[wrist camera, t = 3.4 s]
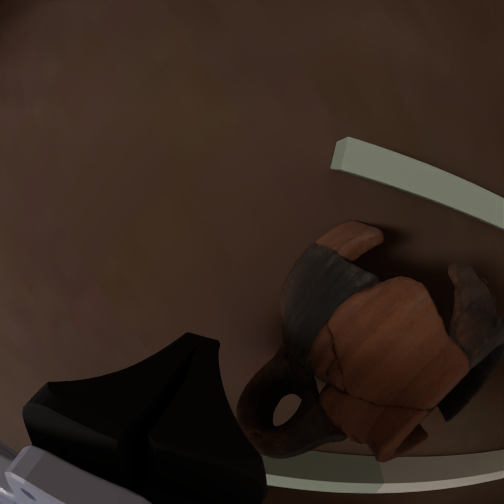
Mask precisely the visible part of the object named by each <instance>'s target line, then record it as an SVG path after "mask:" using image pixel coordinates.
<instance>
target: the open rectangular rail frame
mask: <svg viewBox="0 0 504 504" xmlns="http://www.w3.org/2000/svg"><path fill="white" fill-rule="evenodd" d="M330 169H333V170H337V171H340V172H344V173H347V174H350V175H354V176H357V177H360V178H364V179H367V180H370V181H373V182H376V183H379V184H383V185H386V186H389V187H392V188H395V189H398V190H401V191H404V192H406V193H409V194H412V195H415V196H418V197H421V198H423V199H426V200H429V201H432V202H434V203H437V204H440V205H442V206H445V207H448V208H450V209H453V210H455V211H458V212H460V213H463V214H465V215H468V216H470V217H473V218H475V219H478V220H480V221H482V222H485V223H487V224H489V225H492V226H494V227H496V228H499V229H501V230H503V231H504V198H502V197H500V196H498V195H496V194H494V193H492V192H490V191H488V190H486V189H484V188H481V187H479V186H477V185H475V184H473V183H471V182H468V181H466V180H464V179H462V178H459V177H457V176H455V175H452V174H450V173H448V172H445V171H443V170H441V169H438V168H436V167H433V166H431V165H428V164H426V163H423V162H420V161H418V160H415V159H413V158H410V157H407V156H405V155H402V154H399V153H396V152H393V151H391V150H388V149H385V148H382V147H379V146H376V145H373V144H370V143H367V142H364V141H360V140H357V139H354V138H351V137H347V138H344V139H342V140H340V141H337V143H336V147H335V152H334V156H333V160H332V164H331V168H330ZM260 455H261V454H260ZM261 456H262V458H263V463H264V467H265V472H266V478H267V485H271V486H278V487H285V488H293V489H302V490H312V491H324V492H341V493H399V492H415V491H427V490H437V489H445V488H453V487H459V486H466V485H472V484H477V483H482V482H487V481H492V480H496V479H501V478H504V450H498V451H491V452H483V453H474V454H463V455H450V456H429V457H397V458H394V459H392V460H389V461H387V462H378V461H376V459H375V456H362V455H348V454H337V453H327V452H319V451H311V450H310V451H308V452H306V453H304V454H301V455H298V456H295V457H291V458H286V459H275V458H270V457H267V456H264V455H261Z"/></svg>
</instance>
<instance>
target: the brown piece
mask: <svg viewBox="0 0 504 504" xmlns="http://www.w3.org/2000/svg"><path fill="white" fill-rule="evenodd" d="M383 241H384V235H383V232H382V231H381V230H379V229H378V228H376V227H373V226H369V225H366V224H364V223H360V222H358V221H355V220H350V221H348V222H345V223H342V224H340V225H338V226H336V227H335V228H333V229H331V230H329V231H328V232H326V233H325V234H324V235H323V236H322V237H320V238H319V239H318V240H317V241H316V242H315V243H314V244H312V245H311V246H310V247H309V248H308V249H307V250H306V251H305V252H304V253H303V255H302V256H301V257H300V258H299V259H298V260H297V261H296V263H295V264H294V266H293V268H292V270H291V272H290V274H289V275H288V277H287V279H286V281H285V284H284V286H283V290H282V298H281V315H282V328H283V345H281V346H280V347H279V349H278V351H277V353H276V355H275V356H274V357H273V358H272V359H271V360H270V361H269V362H268V363H267V364H266V365H264V366H263V367H262V368H261V369H260V370H259V371H258V372H257V373H256V374H255V375H254V376H253V378H252V379H251V380H250V381H249V382H248V384H247V385H246V387H245V388H244V390H243V392H242V394H241V396H240V398H239V401H238V404H237V411H236V420H237V422H238V423H239V425H240V427H241V429H242V431H243V432H244V434H245V435H246V437H247V438H248V440H249V441H250V442H251V444H252V445H253V446H254V447H255V449H256V450H257V451H258V452H259V453H260V454H261V455H264V456H267V457H270V458H275V459H286V458H291V457H295V456H298V455H301V454H304V453H306V452H308V451H310V450H312V449H314V448H316V447H318V446H320V445H323V444H325V443H330V442H339V441H343V440H345V439H346V438H347V437H349V438H350V439H351V441H354V442H357V443H360V444H363V443H365V444H367V445H368V446H369V448H370V449H371V451H372V452H373V454H374V455H375V459H376V461H378V462H387V461H389V460H392V459H394V458H397V457H398V456H400V455H403V454H404V453H406V452H408V451H410V450H411V449H412V448H414V447H415V446H417V445H419V444H420V443H422V442H423V441H425V440H426V439H427V438H428V434H427V432H426V431H425V430H424V429H423V428H422V426H421V425H420V424H419V423H420V422H421V421H422V420H423V419H424V418H425V417H426V416H428V414H429V413H430V412H432V411H433V409H434V408H435V407H437V406H438V407H439V409H440V411H441V413H442V415H443V416H444V419H445V421H446V422H448V421H450V420H451V419H452V418H454V416H456V415H457V414H458V413H459V412H460V411H461V410H462V409H463V408H464V407H465V406H466V405H467V404H468V403H469V401H470V400H471V399H472V398H473V397H474V396H475V395H476V394H477V393H478V392H479V390H480V389H481V388H482V387H483V385H484V384H485V383H486V382H487V380H488V379H489V378H490V376H491V374H492V373H493V372H494V370H495V369H496V368H497V366H498V364H499V363H500V362H501V360H502V358H503V357H504V319H502V317H500V316H499V315H498V314H497V310H496V299H495V297H494V294H493V291H492V289H491V287H490V286H489V285H488V282H487V280H486V278H484V277H482V278H481V279H479V278H478V277H477V275H476V273H475V272H474V270H473V268H472V267H471V266H470V265H468V264H463V263H452V264H450V265H449V266H448V274H449V277H450V279H451V281H452V283H453V284H454V286H455V291H454V298H455V300H454V309H453V315H452V318H451V321H450V325H449V328H448V331H446V329H445V325H444V322H443V319H442V318H441V316H440V315H439V313H438V311H437V308H436V306H435V303H434V302H433V300H432V298H431V296H430V294H429V292H428V290H427V288H426V287H425V285H424V284H423V283H421V282H417V281H415V280H414V279H412V278H409V277H404V276H398V277H395V278H392V279H388V280H386V281H384V282H381V281H380V280H379V278H378V277H377V276H376V275H374V274H372V273H370V272H368V271H366V270H364V269H361V268H359V267H358V266H356V265H354V264H352V262H353V261H355V260H356V259H357V258H358V257H359V256H361V255H362V254H364V253H366V252H367V251H368V250H370V249H372V248H374V247H376V246H378V245H380V244H382V243H383ZM313 374H314V375H315V376H316V377H317V378H319V379H320V380H321V381H323V382H326V383H327V384H326V386H325V387H324V388H323V389H322V391H321V392H320V394H319V392H318V389H317V384H316V380H315V378H314V375H313ZM288 394H295V395H297V396H299V397H300V398H301V399H302V400H301V404H300V406H299V408H298V410H297V411H296V413H295V414H294V415H293V416H292V417H291V418H290V419H289V420H288V421H287V422H285V423H284V424H282V425H280V426H274V425H273V414H274V411H275V408H276V406H277V405H278V403H279V401H280V400H281V399H282V398H283V397H284V396H286V395H288Z"/></svg>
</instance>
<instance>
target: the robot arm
mask: <svg viewBox="0 0 504 504" xmlns="http://www.w3.org/2000/svg"><path fill="white" fill-rule="evenodd" d="M219 347H220V343H219V341H218V340H215V339H211V338H207V337H203V336H200V335H196V334H193V333H189V332H187V333H185V334H184V335H182V336H181V337H180V338H178V339H177V340H175V341H174V342H173V343H171V344H170V345H168V346H167V347H165V348H164V349H162V350H160V351H159V352H157V353H156V354H154V355H152V356H150V357H149V358H147V359H145V360H143V361H141V362H139V363H137V364H135V365H133V366H130V367H128V368H125V369H123V370H120V371H117V372H113V373H110V374H106V375H103V376H99V377H94V378H89V379H83V380H75V381H61V382H48V383H46V384H45V385H44V386H43V387H42V388H41V389H40V390H39V391H38V392H37V393H36V394H35V395H34V396H33V397H32V398H31V399H30V400H29V402H28V403H27V404H26V405H25V406H24V407H23V411H22V414H23V419H24V423H25V426H26V429H27V431H28V434H29V437H30V439H31V442H32V446H27V447H24V448H23V449H22V450H21V452H20V453H18V452H16V451H15V450H13V449H12V448H10V447H9V446H7V445H6V444H4V443H3V442H2V441H0V504H262V502H263V500H264V499H265V497H266V493H267V478H266V472H265V467H264V463H263V458H262V456H261V455H260V453H259V452H258V451H257V450H256V449H255V447H254V446H253V445H252V444H251V442H250V441H249V440H248V438H247V437H246V435H245V434H244V432H243V431H242V429H241V427H240V425H239V423H238V422H237V420H236V418H235V416H234V414H233V412H232V410H231V408H230V405H229V403H228V400H227V397H226V394H225V391H224V388H223V384H222V380H221V375H220V368H219V358H218V352H219Z"/></svg>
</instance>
